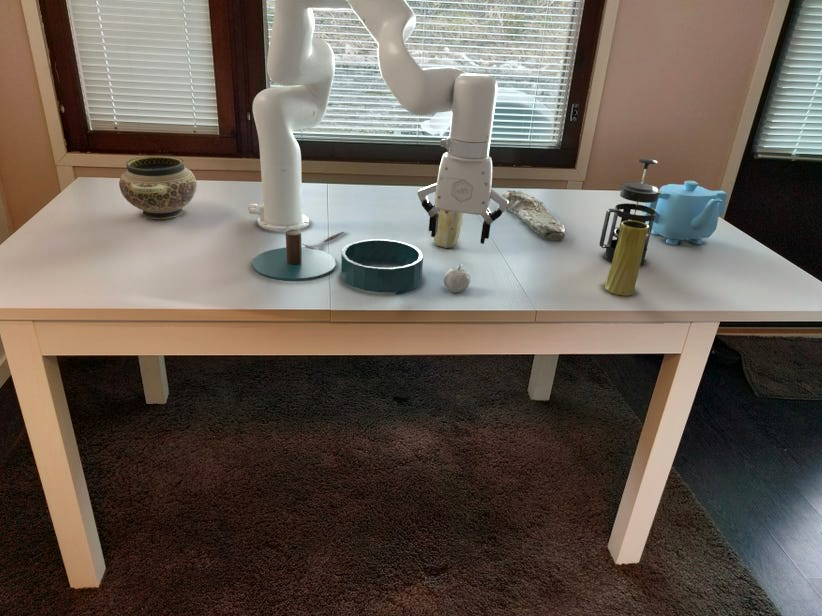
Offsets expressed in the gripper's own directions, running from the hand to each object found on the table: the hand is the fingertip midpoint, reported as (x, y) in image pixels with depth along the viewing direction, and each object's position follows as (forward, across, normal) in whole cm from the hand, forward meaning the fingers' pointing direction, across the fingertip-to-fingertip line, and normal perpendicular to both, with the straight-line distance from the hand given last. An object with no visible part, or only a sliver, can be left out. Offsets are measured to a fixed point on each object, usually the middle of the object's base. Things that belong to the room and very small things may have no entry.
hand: (458, 238), depth 127 cm
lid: (+11, -34, +1) cm, 36 cm away
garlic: (+11, +1, 0) cm, 11 cm away
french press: (+11, +36, +30) cm, 48 cm away
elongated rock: (+11, +14, +53) cm, 56 cm away
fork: (+12, -32, +17) cm, 38 cm away
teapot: (+11, +52, +50) cm, 73 cm away
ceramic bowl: (+13, -77, +23) cm, 81 cm away
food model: (+11, -5, +26) cm, 29 cm away
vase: (+11, +34, +11) cm, 37 cm away
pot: (+11, -15, +1) cm, 19 cm away
